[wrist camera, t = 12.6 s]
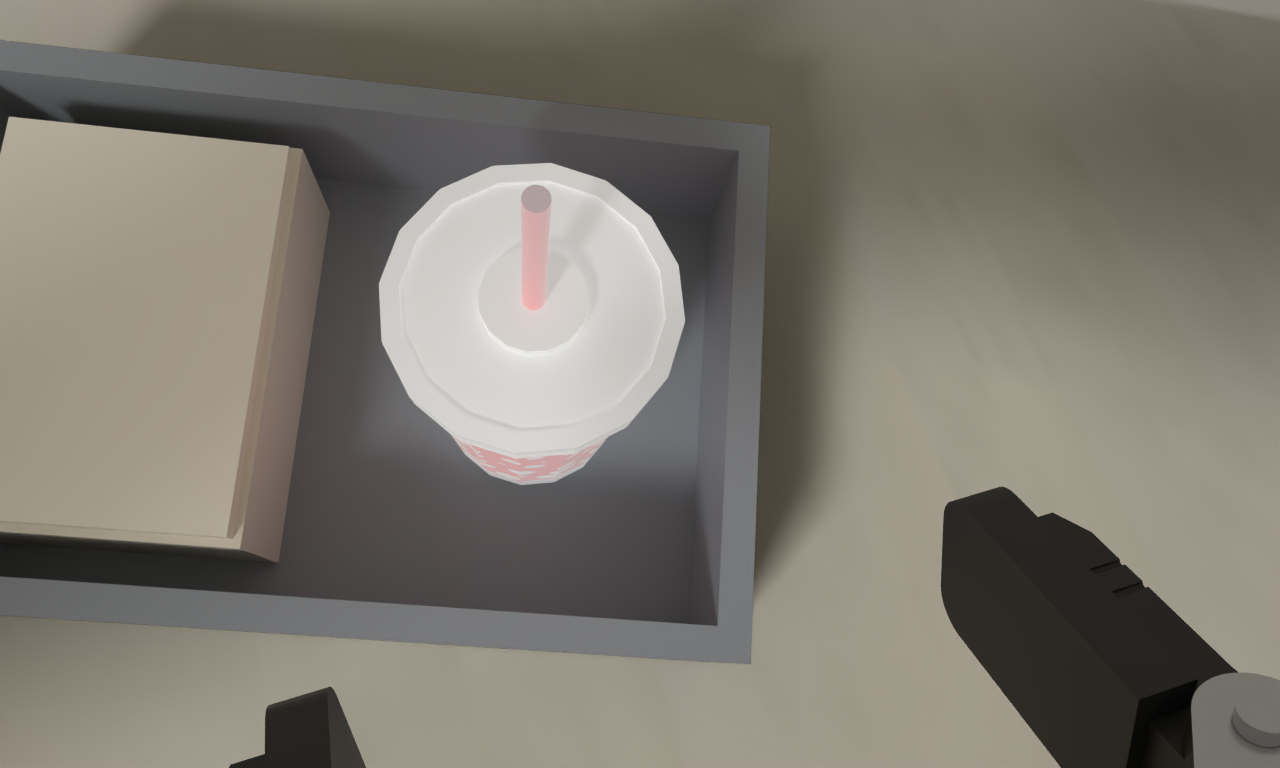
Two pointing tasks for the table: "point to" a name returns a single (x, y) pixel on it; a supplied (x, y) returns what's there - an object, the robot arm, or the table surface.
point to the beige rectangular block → (152, 338)
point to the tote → (411, 440)
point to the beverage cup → (531, 316)
